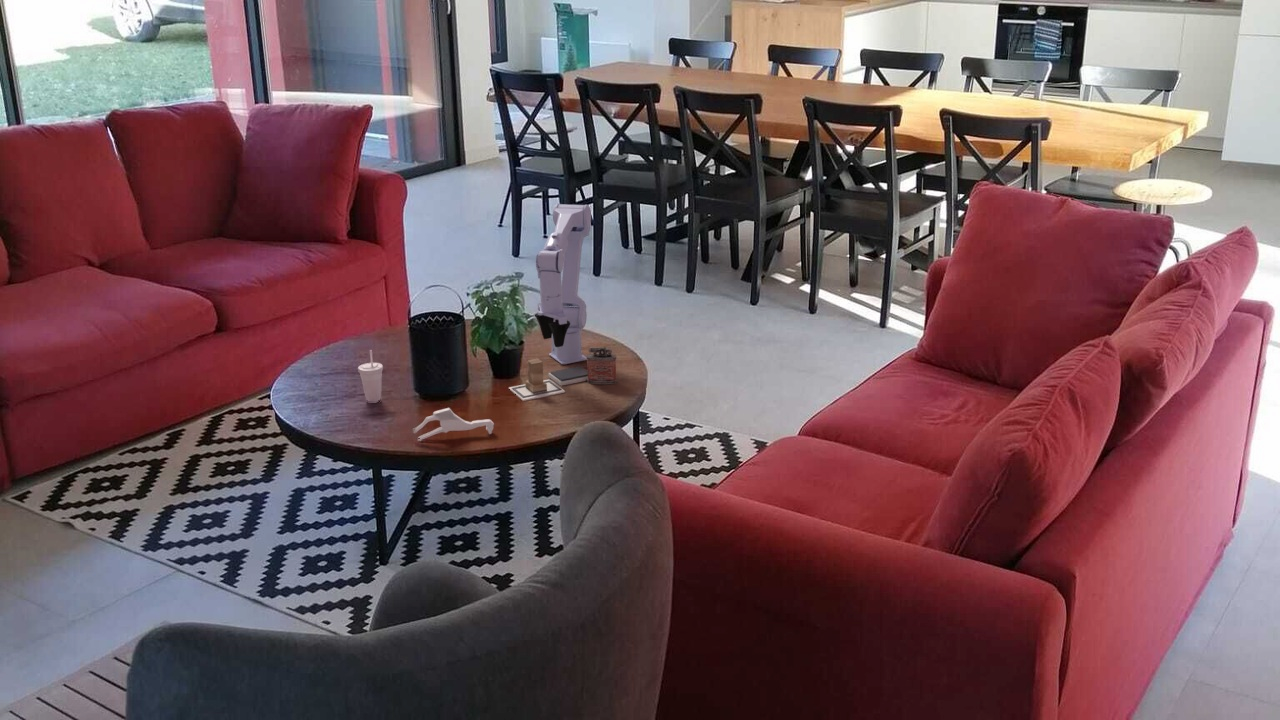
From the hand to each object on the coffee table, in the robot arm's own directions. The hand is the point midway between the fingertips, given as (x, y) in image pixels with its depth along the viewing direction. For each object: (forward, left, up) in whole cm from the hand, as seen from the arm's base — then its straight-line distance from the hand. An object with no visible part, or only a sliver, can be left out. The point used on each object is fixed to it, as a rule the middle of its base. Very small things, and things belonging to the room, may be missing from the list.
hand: (553, 342), depth 333 cm
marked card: (+6, -8, -10) cm, 14 cm away
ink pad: (+2, +4, -10) cm, 11 cm away
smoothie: (-9, -48, -11) cm, 50 cm away
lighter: (+9, +10, -11) cm, 17 cm away
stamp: (+6, -8, -10) cm, 14 cm away
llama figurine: (+23, -38, -11) cm, 46 cm away
